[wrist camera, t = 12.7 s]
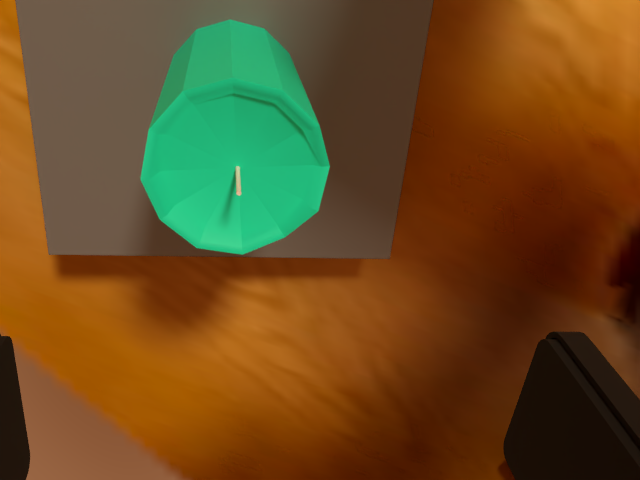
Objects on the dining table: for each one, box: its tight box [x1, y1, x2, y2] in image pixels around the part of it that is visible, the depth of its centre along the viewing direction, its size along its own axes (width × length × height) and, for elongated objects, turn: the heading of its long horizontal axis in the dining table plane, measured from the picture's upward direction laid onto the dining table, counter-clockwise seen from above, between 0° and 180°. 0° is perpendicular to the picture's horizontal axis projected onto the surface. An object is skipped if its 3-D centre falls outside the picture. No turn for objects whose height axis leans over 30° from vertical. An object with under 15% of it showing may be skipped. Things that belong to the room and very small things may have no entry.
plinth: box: [16, 0, 434, 259], centre depth 30 cm, size 18×18×4 cm
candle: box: [140, 19, 330, 255], centre depth 23 cm, size 6×6×12 cm
